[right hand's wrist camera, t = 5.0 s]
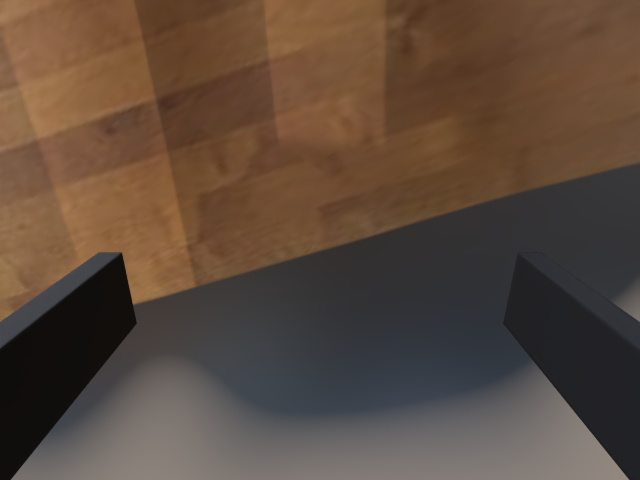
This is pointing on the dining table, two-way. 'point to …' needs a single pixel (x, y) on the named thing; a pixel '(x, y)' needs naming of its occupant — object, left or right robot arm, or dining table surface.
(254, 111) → the dining table surface
